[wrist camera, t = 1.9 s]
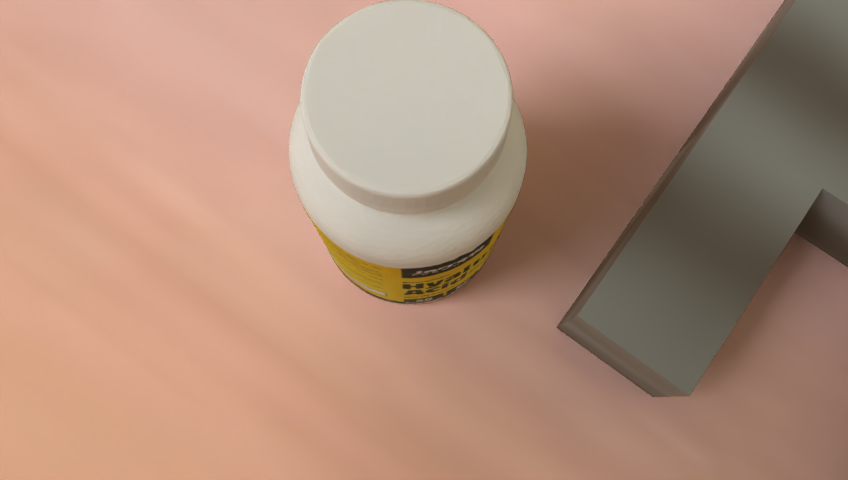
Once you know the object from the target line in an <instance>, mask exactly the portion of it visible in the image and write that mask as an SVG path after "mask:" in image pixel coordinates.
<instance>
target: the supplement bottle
mask: <svg viewBox="0 0 848 480" xmlns="http://www.w3.org/2000/svg"><path fill="white" fill-rule="evenodd" d="M526 162H527V140H526V134H525V128H524V124H523V120H522V116H521V113H520V111H519V109H518V106H517V104H516V102H515V100H514V98H513V89H512V82H511V77H510V73H509V70H508V67H507V64H506V62H505V60H504V58H503V56H502V54H501V52H500V50H499V49H498V47H497V46H496V44H495V43H494V41H493V40H492V39H491V37H490V36H489V35H488V34H487V33H486V32H485V31H484V30H483V29H482V28H481V27H480V26H478V25H477V24H476V23H475V22H474V21H472V20H471V19H470V18H468V17H467V16H465V15H463V14H462V13H460V12H458V11H456V10H454V9H451V8H449V7H446V6H444V5H440V4H437V3H433V2H428V1H421V0H392V1H384V2H380V3H376V4H373V5H370V6H368V7H365V8H363V9H360V10H358V11H356V12H354V13H352V14H351V15H349V16H347V17H346V18H344V19H343V20H342V21H340V22H339V23H338V24H336V25H335V26H334V27H333V28H332V29H331V30H330V31H329V32H328V33H327V34H326V35H325V36H324V37H323V38H322V39H321V41H320V42H319V44H318V45H317V46H316V48H315V50H314V51H313V53H312V55H311V57H310V59H309V62H308V64H307V66H306V69H305V72H304V76H303V80H302V86H301V101H300V103H299V105H298V108H297V110H296V113H295V116H294V119H293V123H292V127H291V131H290V138H289V163H290V169H291V175H292V179H293V182H294V185H295V188H296V191H297V194H298V196H299V199H300V201H301V203H302V205H303V207H304V209H305V211H306V213H307V215H308V216H309V218H310V219H311V221H312V222H313V224H314V226H315V227H316V229H317V231H318V233H319V235H320V236H321V238H322V240H323V241H324V243H325V245H326V247H327V249H328V251H329V253H330V255H331V256H332V258H333V260H334V262H335V263H336V265H337V266H338V268H339V269H340V270H341V272H342V273H343V274H344V275H345V276H346V277H347V278H348V279H349V280H350V281H351V282H352V283H353V284H354V285H356V286H357V287H358V288H360V289H361V290H363V291H364V292H366V293H367V294H369V295H371V296H373V297H375V298H378V299H380V300H383V301H387V302H391V303H395V304H403V305H416V304H424V303H429V302H433V301H437V300H440V299H442V298H444V297H447V296H449V295H451V294H453V293H454V292H456V291H458V290H459V289H460V288H462V287H463V286H465V285H466V284H467V283H468V282H469V281H470V280H471V279H472V278H473V277H474V276H475V275H476V274H477V273H478V272H479V270H480V269H481V268H482V266H483V265H484V263H485V261H486V260H487V258H488V256H489V255H490V253H491V251H492V248H493V246H494V244H495V242H496V240H497V239H498V237H499V235H500V232H501V230H502V228H503V226H504V224H505V222H506V220H507V218H508V216H509V214H510V212H511V210H512V208H513V206H514V204H515V202H516V200H517V197H518V195H519V192H520V189H521V186H522V182H523V179H524V174H525V169H526Z"/></svg>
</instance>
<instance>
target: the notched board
mask: <svg viewBox="0 0 848 480" xmlns="http://www.w3.org/2000/svg"><path fill="white" fill-rule="evenodd" d="M794 232H796V233H798V234H799V235H801V236H802V237H804V238H805V239H807V240H808V241H810V242H811V243H813V244H814V245H816V246H817V247H819V248H820V249H822V250H823V251H825V252H826V253H828V254H829V255H831V256H832V257H834V258H835V259H837V260H838V261H840V262H841V263H843V264H844V265H846V266H847V267H848V0H785V1H784V2H783V4H782V5H781V7H780V8H779V10H778V11H777V12H776V14H775V15H774V17H773V18H772V20H771V21H770V22H769V24H768V25H767V27H766V28H765V30H764V31H763V32H762V34H761V35H760V37H759V38H758V40H757V41H756V43H755V44H754V45H753V47H752V48H751V50H750V51H749V53H748V54H747V55H746V57H745V58H744V60H743V61H742V63H741V64H740V65H739V67H738V68H737V70H736V71H735V73H734V74H733V75H732V77H731V78H730V80H729V81H728V83H727V84H726V86H725V87H724V88H723V90H722V91H721V93H720V94H719V96H718V97H717V98H716V100H715V101H714V103H713V104H712V106H711V107H710V108H709V110H708V111H707V113H706V114H705V116H704V117H703V118H702V120H701V121H700V123H699V124H698V126H697V127H696V129H695V130H694V131H693V133H692V134H691V136H690V137H689V139H688V140H687V141H686V143H685V144H684V146H683V147H682V149H681V150H680V151H679V153H678V154H677V156H676V157H675V159H674V160H673V162H672V163H671V164H670V166H669V167H668V169H667V170H666V172H665V173H664V174H663V176H662V177H661V179H660V180H659V182H658V183H657V184H656V186H655V187H654V189H653V190H652V192H651V193H650V194H649V196H648V197H647V199H646V200H645V202H644V203H643V205H642V206H641V207H640V209H639V210H638V212H637V213H636V215H635V216H634V217H633V219H632V220H631V222H630V223H629V225H628V226H627V227H626V229H625V230H624V232H623V233H622V235H621V236H620V237H619V239H618V240H617V242H616V243H615V245H614V246H613V248H612V249H611V250H610V252H609V253H608V255H607V256H606V258H605V259H604V260H603V262H602V263H601V265H600V266H599V268H598V269H597V270H596V272H595V273H594V275H593V276H592V278H591V279H590V280H589V282H588V283H587V285H586V286H585V288H584V289H583V291H582V292H581V293H580V295H579V296H578V298H577V299H576V301H575V302H574V303H573V305H572V306H571V308H570V309H569V311H568V312H567V313H566V315H565V316H564V318H563V319H562V321H561V322H560V324H559V325H558V326H557V328H558V329H559V330H561V331H562V332H564V333H565V334H566V335H568V336H569V337H571V338H572V339H573V340H575V341H576V342H577V343H579V344H580V345H582V346H583V347H584V348H586V349H587V350H589V351H590V352H591V353H593V354H594V355H596V356H597V357H598V358H600V359H601V360H602V361H604V362H605V363H607V364H608V365H609V366H611V367H612V368H614V369H615V370H616V371H618V372H619V373H621V374H622V375H623V376H625V377H626V378H627V379H629V380H630V381H632V382H633V383H634V384H636V385H637V386H639V387H640V388H641V389H643V390H644V391H646V392H647V393H648V394H650V395H651V396H652V397H668V396H689V395H690V394H691V392H692V391H693V389H694V388H695V386H696V385H697V383H698V381H699V380H700V378H701V377H702V375H703V374H704V372H705V371H706V369H707V367H708V366H709V364H710V363H711V361H712V360H713V358H714V357H715V355H716V353H717V352H718V350H719V349H720V347H721V346H722V344H723V343H724V341H725V339H726V338H727V336H728V335H729V333H730V332H731V330H732V329H733V327H734V325H735V324H736V322H737V321H738V319H739V318H740V316H741V315H742V313H743V311H744V310H745V308H746V307H747V305H748V304H749V302H750V300H751V299H752V297H753V296H754V294H755V293H756V291H757V290H758V288H759V286H760V285H761V283H762V282H763V280H764V279H765V277H766V276H767V274H768V272H769V271H770V269H771V268H772V266H773V265H774V263H775V262H776V260H777V258H778V257H779V255H780V254H781V252H782V251H783V249H784V248H785V246H786V244H787V243H788V241H789V240H790V238H791V237H792V235H793V234H794Z"/></svg>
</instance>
